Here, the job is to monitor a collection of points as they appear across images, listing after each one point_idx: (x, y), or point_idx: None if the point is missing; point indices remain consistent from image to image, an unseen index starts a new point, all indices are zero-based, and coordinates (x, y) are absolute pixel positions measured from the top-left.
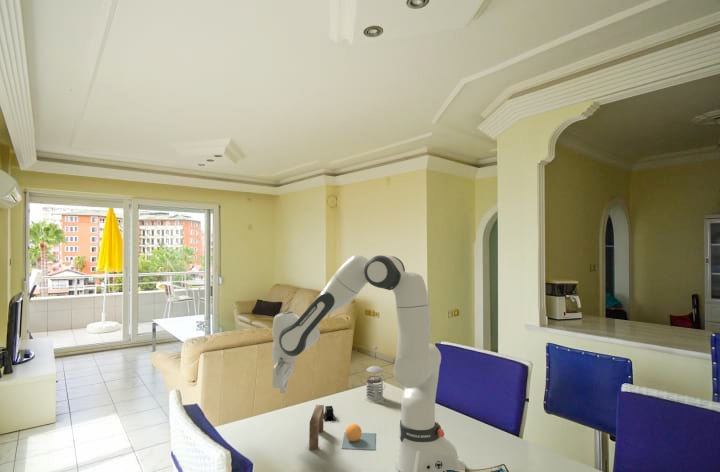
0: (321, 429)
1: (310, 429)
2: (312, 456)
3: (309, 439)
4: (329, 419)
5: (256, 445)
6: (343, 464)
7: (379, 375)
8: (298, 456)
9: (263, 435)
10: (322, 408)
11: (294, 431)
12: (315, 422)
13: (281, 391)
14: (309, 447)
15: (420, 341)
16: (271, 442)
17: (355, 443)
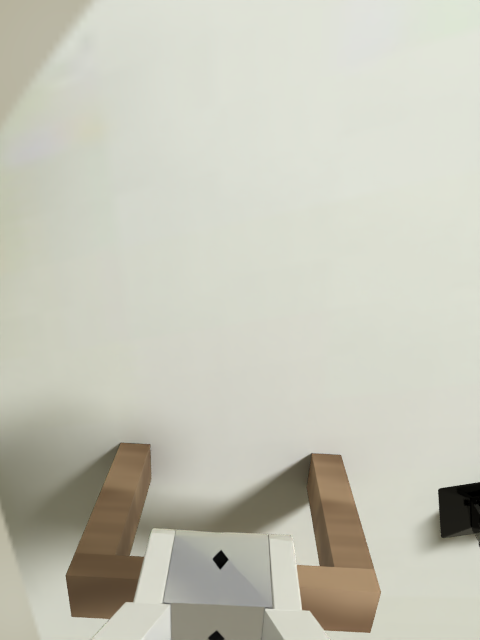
0: (309, 494)
1: (84, 535)
2: (63, 461)
3: (104, 482)
4: (458, 511)
5: (133, 133)
6: (26, 569)
7: None
8: (50, 403)
9: (278, 149)
10: None
11: (328, 346)
12: (70, 603)
13: (149, 560)
14: (117, 452)
15: None
16: (181, 230)
17: None
